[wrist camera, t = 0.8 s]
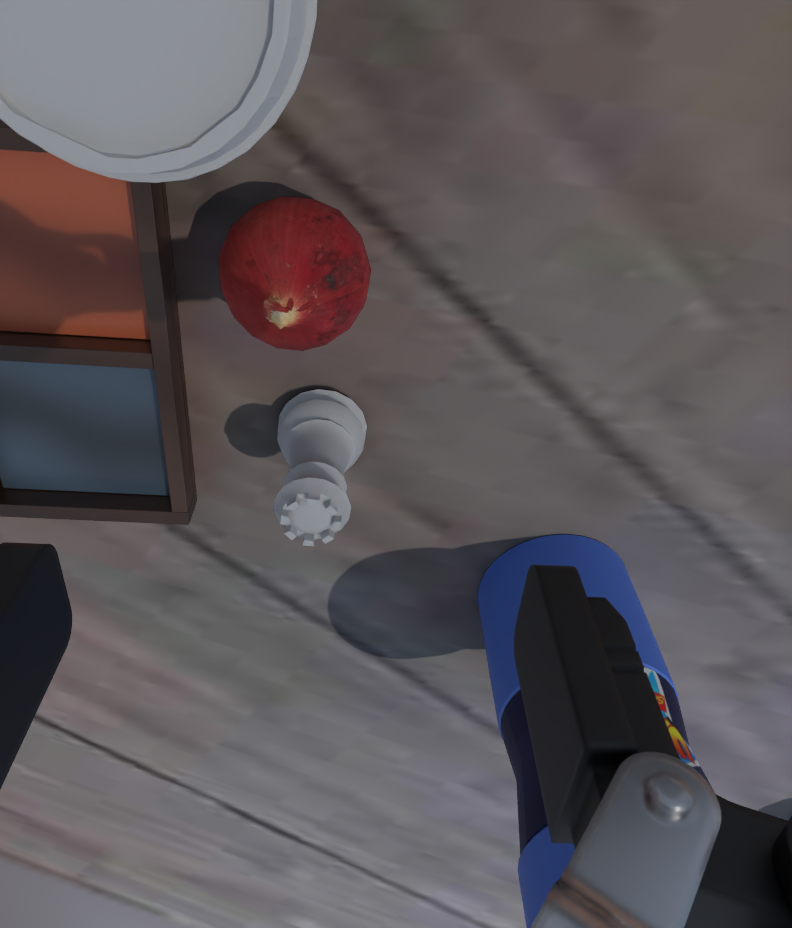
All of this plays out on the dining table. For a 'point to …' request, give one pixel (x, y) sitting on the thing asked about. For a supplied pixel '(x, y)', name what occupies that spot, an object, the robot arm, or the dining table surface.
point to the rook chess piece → (317, 463)
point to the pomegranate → (294, 272)
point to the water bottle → (498, 620)
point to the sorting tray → (88, 346)
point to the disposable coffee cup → (150, 79)
